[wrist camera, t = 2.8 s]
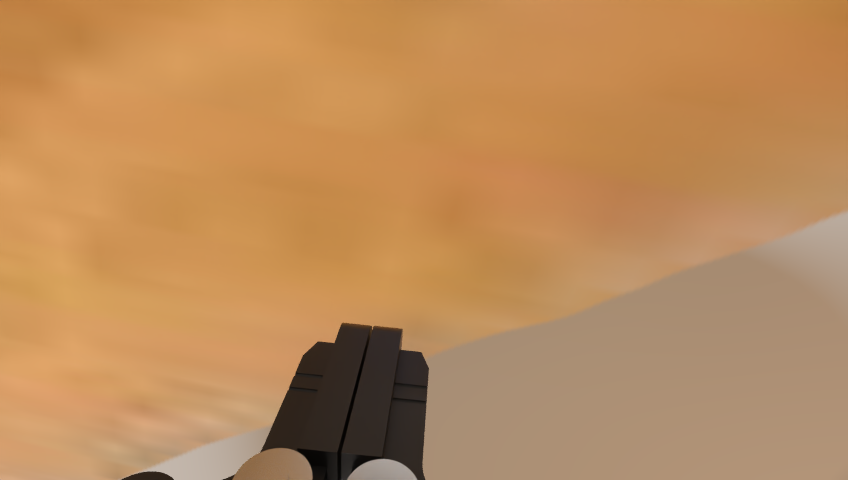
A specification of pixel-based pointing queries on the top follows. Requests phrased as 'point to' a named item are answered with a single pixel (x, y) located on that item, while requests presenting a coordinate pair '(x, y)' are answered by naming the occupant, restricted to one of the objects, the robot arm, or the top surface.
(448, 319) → the top surface
